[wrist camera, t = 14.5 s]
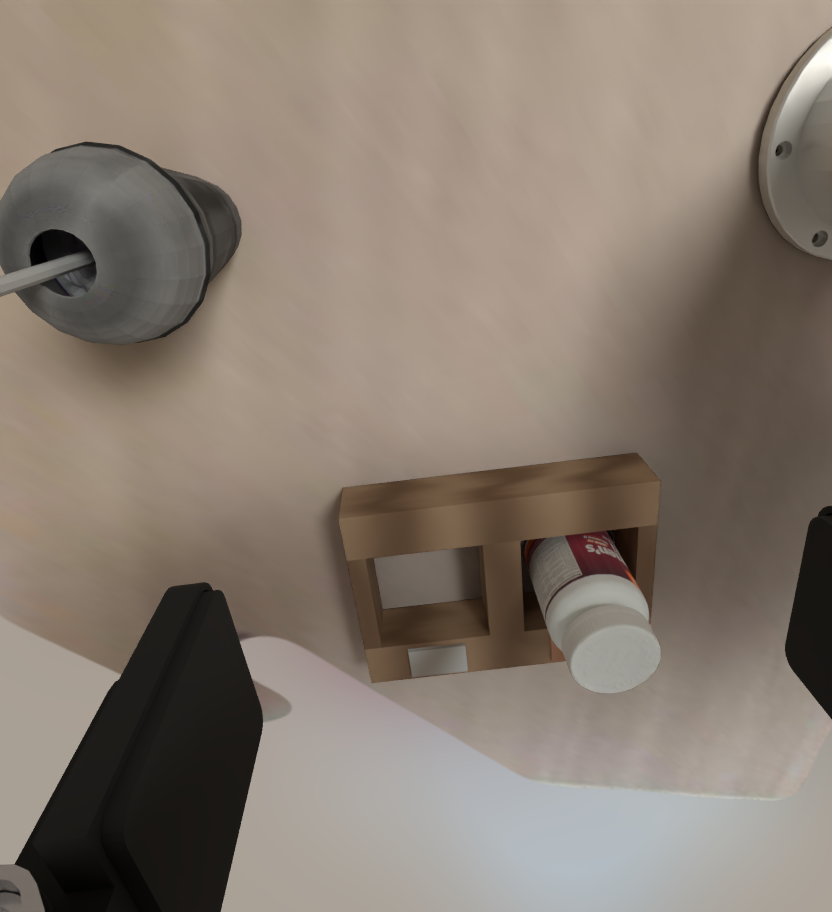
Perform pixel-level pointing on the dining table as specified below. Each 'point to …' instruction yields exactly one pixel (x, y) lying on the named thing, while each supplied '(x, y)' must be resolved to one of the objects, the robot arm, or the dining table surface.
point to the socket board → (488, 556)
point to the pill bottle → (593, 610)
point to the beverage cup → (112, 242)
